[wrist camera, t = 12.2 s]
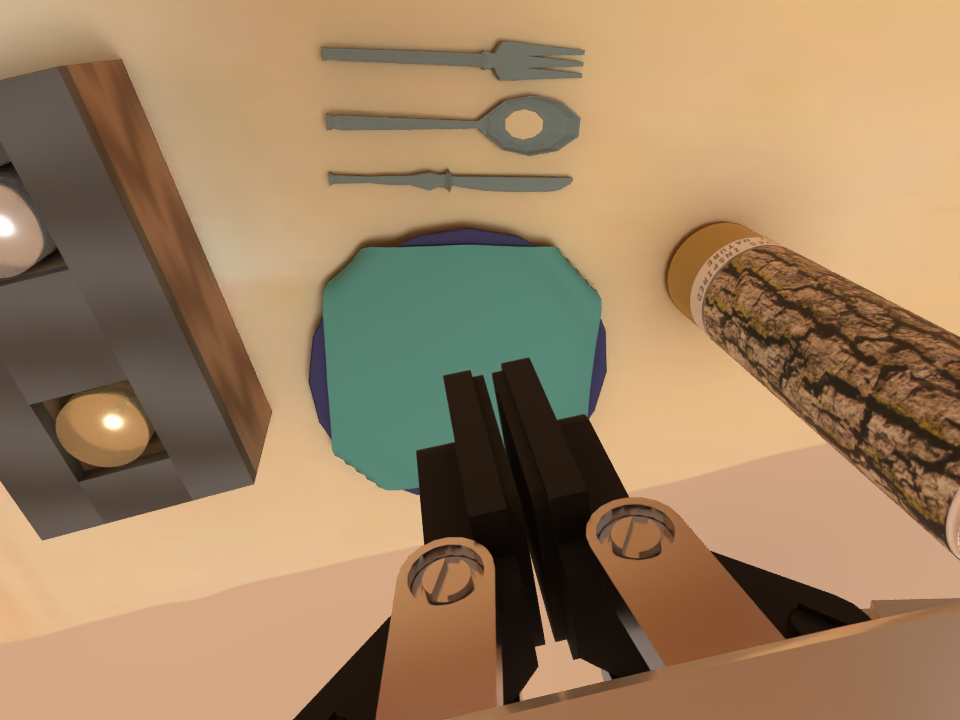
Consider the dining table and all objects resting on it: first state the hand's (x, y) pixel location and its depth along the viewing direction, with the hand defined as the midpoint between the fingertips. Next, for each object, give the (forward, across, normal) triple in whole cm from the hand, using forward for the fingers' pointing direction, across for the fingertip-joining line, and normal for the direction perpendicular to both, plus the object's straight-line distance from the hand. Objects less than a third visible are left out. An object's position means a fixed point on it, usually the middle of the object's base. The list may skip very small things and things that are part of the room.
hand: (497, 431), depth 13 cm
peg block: (+29, +20, +4) cm, 35 cm away
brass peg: (+29, +19, +10) cm, 36 cm away
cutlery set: (+30, -1, +10) cm, 31 cm away
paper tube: (+30, -18, +11) cm, 36 cm away
